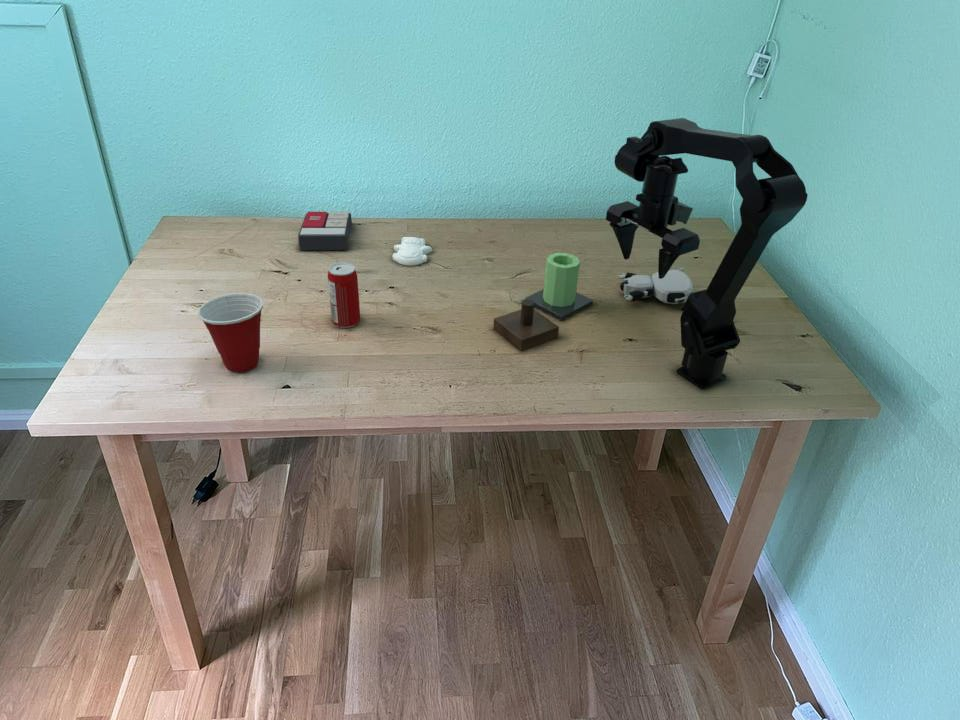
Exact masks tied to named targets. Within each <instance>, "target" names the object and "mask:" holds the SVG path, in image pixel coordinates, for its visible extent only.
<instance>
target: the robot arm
mask: <svg viewBox="0 0 960 720" xmlns="http://www.w3.org/2000/svg"><path fill="white" fill-rule="evenodd" d="M625 141H626V142H625V143H624V144H623V145H622V146H621V147H620V148H619V149H618V151H617V152H616V154H615V156H614V166H615V168H616V170H618V171H619V172H620V173H622V174H623V175H626V176H628V177H629V178H631V179H632V180H635V181H636V182H639V183H642V187H641V193H637V194H635V201H636V202H639V205H637V204H634V203H633V202H631V201H628V200H626V201H623V202H619V203H614V204H612V205H610V206H609V207H608V208H607V209H606V217H605V221H607V222H609V227H611V228H612V230H613V232H614V235H615V237H616V240H617V242H618V246H619V248H620V251H621V254H622V258H623V260H626V261H627V260H629V259H630V257H631V254H632V250H633V246H634V245H633V244H634V240H635V235H636V231H638V229H639V228H641V229H643V230H645V231H646V232H649V233H651V234H653V235H655V236H657V237H659V238H661V244H660V245H661V248H659V249H658V264H657V265H658V266H657V267H658V269H657V272H658V275H659V279H662V278H664V277H665V275H666V274H667V272H668V271H669V270H671V268H672V266H673V265H674V263H675V262H676V261H677V260H678V258H679V257H680V256H682V255H685V254H688V253H691V252H694V251H697V250H699V247H700V244H701V243H700V242H701V237H700V236H699V234H698V233H695V232H693V231H692V230H690V229H687V228H685V227H681V228H677V229H675V230H672V229H670V228H668V226H675V225H677V222H679V223H682V224H684V225H687V224H688V222H689V219H690V217H691V215H692V213H693V210H694V208H693V207H691V206H689V205H687V204H685V203H683V202H681V201H679V197H678V196H676V195H675V192H676V187H677V183H678V182H677V181H678V178H679V175H683V174H687V173H689V168H688V166H687V165H686V164H685V163H684V161H683V157H675V158H672V157H670V156H672V155H682V154H687V155H692V156H698V157H699V156H700V157H704V158H708V159H709V158H710V159H715V160H721V161H727V162H731V163H732V165H733V167H734V170H735V187H736V189H737V191H738V193H739V195H740V197H741V198H742V200H741V204H740V207H739V215H740V221H741V224H740V226H739V228H738V230H737V232H736V233H735V235H734V237H733V239H732V241H731V243H730V245H729V247H728V249H727V250H726V252H725V255H724V256H723V257H722V259H721V261H720V264H719V265H718V268H717V269H716V271H715V273H714V275H713V276H712V277H711V281H710V282H709V284H708V286H707V288H706V289H702V290H697V291H692V293H690V295H689V296H688V298H687V301H686V302H685V304H684V305H683V307H681V308H680V311H681V312H682V313H681V315H680V318H679V319H680V320H679V322H680V344H681V347H682V348H683V349H684V352H683V356H682V360H681V366H679V367H678V368H676V370H675V372H676V373H677V374H678V375H679V376H681V377H683V378H684V379H685V380H686V381H689V382H690V383H692V384H693V385H694V386H696V387H697V388H699V389H701V390H706V389H708V388H710V387H712V386H714V385H716V384H718V383H721V382H722V381H724V380H726V379H727V375H726V374H724V373H723V372H724V368H725V365H726V362H727V359H728V355H729V352H728V350H734V349H737V347H738V346H739V344H740V343H741V338H740V336H739V333H738V331H737V330H738V329H737V328H736V325H735V324H736V323H735V321H734V320H735V317H736V314H737V308H736V303H735V301H736V299H737V297H738V295H739V293H740V292H741V290H742V289H743V287H744V285H745V283H746V281H747V280H748V278H749V276H750V274H751V273H752V271H753V269H754V268H755V267H756V265H757V263H758V261H759V259H760V258H761V256H762V254H764V251H765V250H766V248H767V246H768V244H769V242H770V240H772V238H773V236H774V235H775V234H776V233H778V231H780V230H781V229H783V228H784V227H785V226H786V225H788V224H789V223H790V222H792V221H793V220H794V219H795V217H796V216H797V215H798V214H799V213H800V211H801V210H802V209H803V208H804V207H805V205H806V203H807V201H808V197H809V195H808V194H809V193H808V192H807V189H806V186H805V183H804V181H803V179H802V178H801V177H800V176H799V174H798V172H797V171H796V169H795V167H794V166H793V165H794V164H792V163H791V162H790V161H789V160H788V159H786V158H785V157H784V156H783V155H782V154H780V153H779V152H778V151H776V149H775V148H774V147H773V144H772V143H771V141H770V140H769V138H768V137H767V136H764V135H762V134H745V133H738V132H730V131H722V130H715V129H709V128H708V129H706V128H703V127H700V126H699V125H698V124H697V123H696V122H694V121H692V120H689V119H687V118H684V117H680V118H671V119H661V120H655V121H651V122H650V123H649V125H648V127H647V129H646V131H645V132H644V133H643V135H642V136H641V137H638V136H629V137H627V138H626V140H625ZM755 163H756V166H757V167H759V168H760V169H761V170H762V171H763V172H765V174H767V175H768V176H769V177H765V178H760V179H758V178H757V176H756V174H755V173H754V164H755Z"/></svg>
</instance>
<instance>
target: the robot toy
mask: <svg viewBox="0 0 960 720" xmlns="http://www.w3.org/2000/svg"><path fill="white" fill-rule="evenodd" d="M684 270H685V267H681V268H678V269H669V271H668V272H667V274H666V275H665V277H664V278H662V279H659V275H658V271H656V272H654V273H653V274H652V276H649V275H644V274H642V275H641V274H636V273H632V272H626V273H625V272H621V273H619V274H618V276H617V277H618V279H620V280H623V281H622V282H621V284H620V285H619V288H620V291H621V292H622V293H623V294H624V295H623V300H625V301H626V302H638V301H641V300H643V299H644V298H645V299H646V298H650V297H653V296H654V298H656V299H658V301H660V302H662V303H664V304H670V305H677V304H684V303H686V301H687V298H688V296H689V295H690V293H693V287H694V285H693V281H692V280H691V278H690V277H689V275H687V274H686V273H685V272H683V271H684Z"/></svg>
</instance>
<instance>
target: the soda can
mask: <svg viewBox="0 0 960 720" xmlns="http://www.w3.org/2000/svg"><path fill="white" fill-rule="evenodd" d="M327 283H328V294H329V304H330V313H331V314H330V315H331V322H332V323H333V325H335V326H336V327H337V328H340V329H341V328H342V329H348V328H353V327H355V326H357V324H359V323H360V322H361V309H360V307H361V306H360V292H359V280H358V273H357V271H356V267H355V265H354V264H352V263H351V262H345V261H342V262H335V263H333V264H330V265H329V267H328V271H327Z"/></svg>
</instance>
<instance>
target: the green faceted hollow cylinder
mask: <svg viewBox="0 0 960 720" xmlns="http://www.w3.org/2000/svg"><path fill="white" fill-rule="evenodd" d="M545 261H546V263H545V272H544V282H543V289H544V291H543V298H544V301H545V302H546V303H548V304H550V305H552V306H558V307H565V306H570V305H572V304H573V302H574V301H575V297H576V292H577V287H578V282H579V281H578V280H579V274H580V273H579V272H580V264H581V261H580V259H579V257H578V256H576V255H574V254H571V253H566V252H556V253H551V254H549V255H548V256H547V257H546V260H545Z"/></svg>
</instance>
